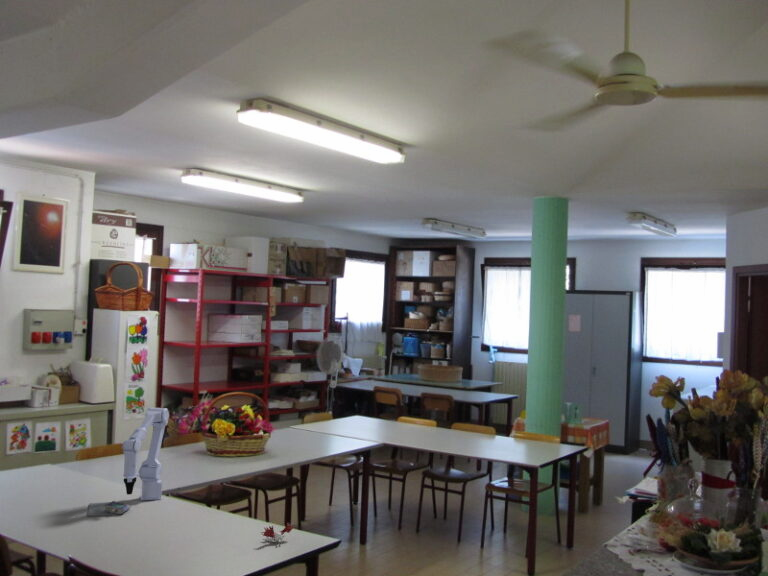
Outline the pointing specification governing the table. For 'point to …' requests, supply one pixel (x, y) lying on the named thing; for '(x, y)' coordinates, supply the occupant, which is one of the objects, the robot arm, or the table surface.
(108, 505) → the clover print pouch
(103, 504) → the mat
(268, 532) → the figurine
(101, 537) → the table surface
